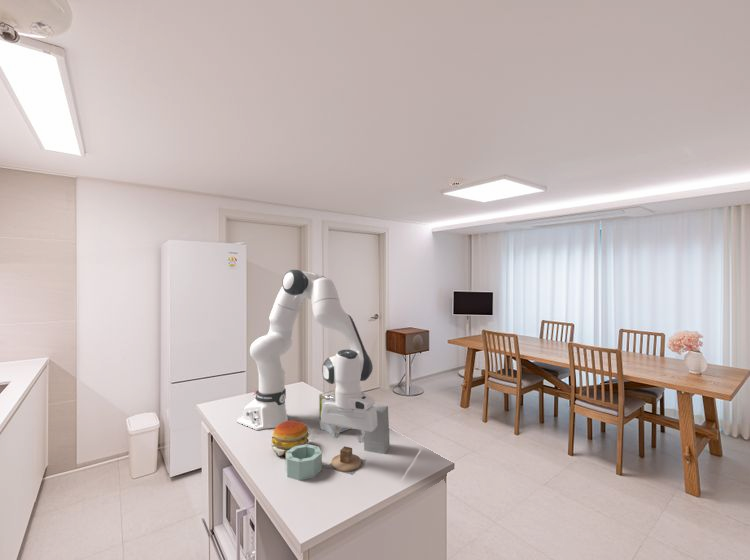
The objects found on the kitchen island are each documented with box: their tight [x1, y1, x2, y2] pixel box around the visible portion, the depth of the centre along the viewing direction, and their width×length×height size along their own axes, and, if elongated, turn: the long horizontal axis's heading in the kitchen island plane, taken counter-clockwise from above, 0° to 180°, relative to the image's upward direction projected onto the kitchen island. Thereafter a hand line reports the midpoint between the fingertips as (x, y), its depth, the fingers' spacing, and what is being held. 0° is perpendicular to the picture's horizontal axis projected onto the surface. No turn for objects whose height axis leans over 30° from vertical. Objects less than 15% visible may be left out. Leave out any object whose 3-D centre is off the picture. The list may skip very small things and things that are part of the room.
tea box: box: [318, 390, 352, 436], centre depth 148 cm, size 15×10×15 cm
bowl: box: [285, 443, 323, 481], centre depth 114 cm, size 11×11×6 cm
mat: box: [325, 458, 367, 476], centre depth 118 cm, size 10×10×1 cm
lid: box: [331, 446, 362, 473], centre depth 118 cm, size 10×10×5 cm
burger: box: [271, 419, 310, 457], centre depth 128 cm, size 14×14×10 cm
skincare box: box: [363, 404, 391, 455], centre depth 128 cm, size 8×7×16 cm
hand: (348, 439), depth 118 cm, fingers open, 8 cm apart
